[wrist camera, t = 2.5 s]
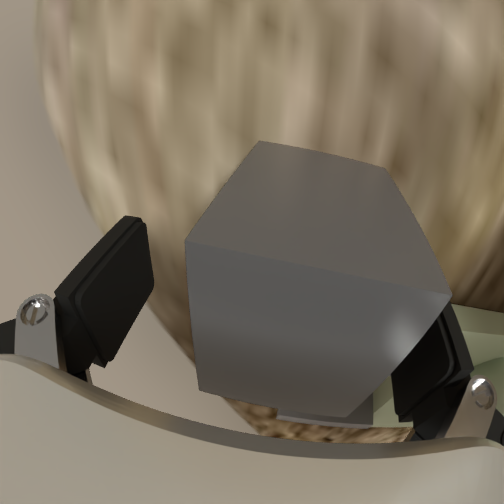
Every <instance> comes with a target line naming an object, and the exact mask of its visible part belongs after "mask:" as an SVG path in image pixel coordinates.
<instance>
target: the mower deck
mask: <svg viewBox="0 0 504 504" xmlns="http://www.w3.org/2000/svg"><path fill="white" fill-rule="evenodd" d="M451 305H452V307H453V309H454V312H455V314H456V317H457V320H458V322H459V325H460V327H461V330H462V333H463V336H464V338H465V341H466V344H467V347H468V350H469V353H470V356H471V359H472V363H473V366H474V370H473V371H472V372H471V373H470V376H471V378H472V377H473V376H475V375H483V376H485V377H487V378H488V379H489V380H490V381H491V382H492V383H493V385H494V387H495V389H496V393H497V405H496V409H497V410H498V411H499V412H500V413H501V414H502V415H503V416H504V313H500V312H494V311H489V310H483V309H478V308H472V307H467V306H461V305H456V304H451ZM276 419H279V420H285V421H291V422H298V423H306V424H313V425H322V426H332V427H345V428H362V429H368V428H369V427H413V421H412V422H403V423H399V421H398V415H396V413H395V410H394V399H393V389H392V381H391V374H390V375H389V376H388V377H387V379H386V380H385V381H384V382H383V383H382V384H381V385H380V386H379V387H378V388H377V389H376V390H375V391H374V392H373V393H372V394H371V395H370V396H369V397H367V398H366V399H365V400H364V401H363V402H362V403H361V404H360V405H359V406H358V407H357V408H356V409H355V410H354V411H353V412H351V413H350V414H349V415H348V416H347V417H346V418H345V417H334V416H325V415H316V414H309V413H301V412H295V411H288V410H282V409H278V412H277V417H276Z"/></svg>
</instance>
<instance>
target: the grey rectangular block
mask: <svg viewBox="0 0 504 504" xmlns="http://www.w3.org/2000/svg"><path fill="white" fill-rule="evenodd" d="M185 254H186V270H187V284H188V297H189V308H190V319H191V329H192V338H193V347H194V355H195V363H196V371H197V378H198V385H199V390H200V391H203V392H207V393H211V394H215V395H218V396H222V397H226V398H230V399H234V400H238V401H242V402H247V403H251V404H256V405H261V406H266V407H271V408H277V409H282V410H288V411H295V412H301V413H309V414H316V415H325V416H334V417H345V418H346V417H347V416H348V415H349V414H350V413H351V412H353V411H354V410H355V409H356V408H357V407H358V406H359V405H360V404H361V403H362V402H363V401H364V400H365V399H366V398H367V397H369V396H370V395H371V394H372V393H373V392H374V391H375V390H376V389H377V388H378V387H379V386H380V385H381V383H382V382H383V381H384V380H385V379H386V378H387V377H388V376H389V375H390V374H391V373H392V372H393V371H394V370H395V369H396V367H397V366H398V365H399V364H400V363H401V362H402V361H403V360H404V358H405V357H406V356H407V355H408V354H409V353H410V351H411V350H412V349H413V348H414V347H415V345H416V344H417V343H418V342H419V341H420V339H421V338H422V337H423V336H424V334H425V333H426V332H427V330H428V329H429V328H430V327H431V325H432V324H433V323H434V321H435V320H436V318H437V317H438V316H439V314H440V313H441V312H442V310H443V309H444V307H445V306H446V304H447V303H448V302H449V300H450V299H451V297H452V296H453V295H452V293H451V290H450V288H449V285H448V283H447V281H446V278H445V276H444V274H443V272H442V269H441V267H440V265H439V263H438V261H437V259H436V257H435V254H434V252H433V250H432V248H431V246H430V244H429V242H428V240H427V238H426V237H425V235H424V233H423V231H422V229H421V227H420V225H419V223H418V222H417V220H416V218H415V216H414V214H413V213H412V211H411V209H410V207H409V206H408V204H407V202H406V201H405V199H404V197H403V196H402V194H401V192H400V191H399V189H398V188H397V186H396V184H395V183H394V181H393V180H392V178H391V177H390V175H389V173H388V172H387V170H386V169H385V168H382V167H379V166H375V165H372V164H368V163H364V162H360V161H357V160H353V159H349V158H345V157H340V156H336V155H332V154H327V153H323V152H318V151H314V150H309V149H304V148H299V147H293V146H288V145H282V144H277V143H271V142H264V141H259V142H258V143H257V144H256V145H255V147H254V148H253V149H252V150H251V152H250V153H249V154H248V155H247V157H246V158H245V159H244V160H243V162H242V163H241V164H240V166H239V167H238V168H237V170H236V171H235V172H234V173H233V175H232V176H231V177H230V179H229V180H228V181H227V183H226V184H225V185H224V187H223V188H222V189H221V191H220V192H219V193H218V195H217V196H216V197H215V199H214V200H213V201H212V203H211V204H210V206H209V207H208V208H207V210H206V211H205V212H204V214H203V215H202V217H201V218H200V219H199V221H198V222H197V224H196V225H195V226H194V228H193V229H192V231H191V232H190V234H189V235H188V236H187V238H186V239H185Z"/></svg>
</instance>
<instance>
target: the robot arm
mask: <svg viewBox="0 0 504 504" xmlns="http://www.w3.org/2000/svg"><path fill="white" fill-rule="evenodd" d="M153 288H154V277H153V271H152V264H151V257H150V250H149V243H148V235H147V227H146V224H145V223H143V221H142V219H141V218H139V217H133V216H124V217H123V218H122V219H121V220H120V221H119V222H118V223H117V224H116V225H115V226H114V227H113V228H112V229H111V230H110V231H109V232H108V233H107V234H106V235H105V236H104V237H103V238H102V239H101V240H100V241H99V242H98V243H97V244H96V245H95V246H94V247H93V248H92V249H91V250H90V251H89V253H88V254H87V255H86V256H85V257H84V258H83V259H82V260H81V261H80V262H79V264H78V265H77V266H76V267H75V268H74V269H73V270H72V271H71V272H70V274H69V275H68V276H67V277H66V278H65V279H64V281H63V282H62V283H61V284H60V285H59V287H58V288H57V289H56V290H55V291H54V293H55V295H56V297H55V298H54V299H53V300H52V298H51V297H50V296H48V295H46V294H36V295H33V296H31V297H29V298H28V299H26V300H25V301H24V302H23V303H22V304H21V305H20V307H19V309H18V311H17V315H16V319H13V320H10V321H7V322H4V323H1V324H0V504H504V416H503V415H502V414H501V413H500V412H499V411H498V410H497V409H496V405H497V393H496V389H495V387H494V385H493V383H492V382H491V381H490V380H489V379H488V378H487V377H485V376H483V375H475V376H473V377H472V378H471V376H470V373H471V372H472V371H473V370H474V366H473V363H472V359H471V356H470V353H469V350H468V347H467V344H466V341H465V338H464V336H463V333H462V330H461V327H460V325H459V322H458V320H457V317H456V314H455V312H454V309H453V307H452V305H451V302H450V300H449V302H448V303H447V304H446V306H445V307H444V309H443V310H442V312H441V313H440V314H439V316H438V317H437V318H436V320H435V321H434V323H433V324H432V325H431V327H430V328H429V329H428V330H427V332H426V333H425V334H424V336H423V337H422V338H421V339H420V341H419V342H418V343H417V344H416V345H415V347H414V348H413V349H412V350H411V351H410V353H409V354H408V355H407V356H406V357H405V358H404V360H403V361H402V362H401V363H400V364H399V365H398V366H397V367H396V369H395V370H394V371H393V372H392V373H391V381H392V389H393V399H394V410H395V413H396V415H398V421H399V423H403V422H412V421H413V428H412V430H411V431H410V433H409V434H408V436H407V437H406V439H405V440H404V441H403V442H397V443H375V444H345V443H323V442H309V441H298V440H289V439H281V438H273V437H266V436H260V435H254V434H248V433H242V432H238V431H233V430H228V429H223V428H219V427H214V426H210V425H206V424H203V423H199V422H195V421H191V420H188V419H184V418H181V417H177V416H174V415H171V414H167V413H164V412H161V411H158V410H155V409H152V408H149V407H146V406H144V405H141V404H138V403H135V402H133V401H130V400H127V399H125V398H122V397H120V396H117V395H115V394H113V393H110V392H108V391H106V390H103V389H101V388H98V387H96V386H94V385H93V384H92V380H91V376H90V371H89V367H90V366H91V364H92V363H94V364H96V365H99V366H101V367H103V368H105V367H106V365H107V363H108V361H109V362H110V361H112V360H113V359H114V357H115V355H116V354H117V352H118V350H119V348H120V346H121V344H122V343H123V340H124V339H125V337H126V335H127V333H128V332H129V330H130V328H131V326H132V325H133V323H134V321H135V319H136V318H137V316H138V314H139V312H140V311H141V309H142V307H143V306H144V304H145V302H146V301H147V299H148V297H149V295H150V294H151V292H152V290H153Z"/></svg>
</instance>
